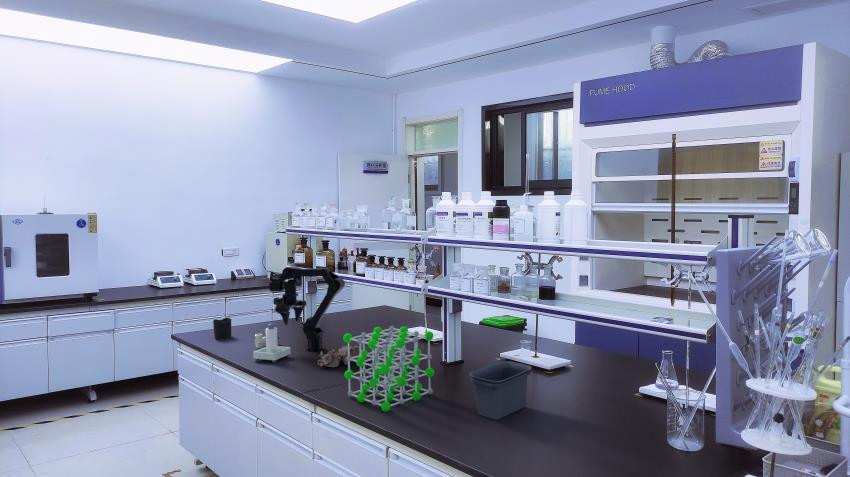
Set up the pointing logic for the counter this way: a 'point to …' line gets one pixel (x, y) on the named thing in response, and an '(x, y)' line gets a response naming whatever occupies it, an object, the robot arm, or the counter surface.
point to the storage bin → (500, 388)
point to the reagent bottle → (271, 339)
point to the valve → (260, 340)
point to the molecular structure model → (389, 365)
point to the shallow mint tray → (271, 354)
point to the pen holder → (222, 328)
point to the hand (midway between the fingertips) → (291, 323)
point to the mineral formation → (337, 356)
